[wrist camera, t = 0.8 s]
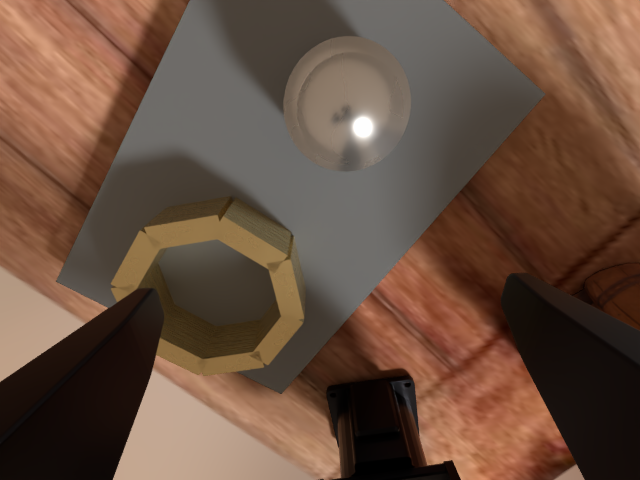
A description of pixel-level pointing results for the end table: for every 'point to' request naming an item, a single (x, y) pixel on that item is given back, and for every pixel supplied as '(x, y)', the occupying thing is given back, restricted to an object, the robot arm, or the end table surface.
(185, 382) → the end table surface
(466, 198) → the end table surface
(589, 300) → the wooden figurine
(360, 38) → the silver calibration weight
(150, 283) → the brass ring
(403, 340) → the end table surface
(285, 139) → the mat
